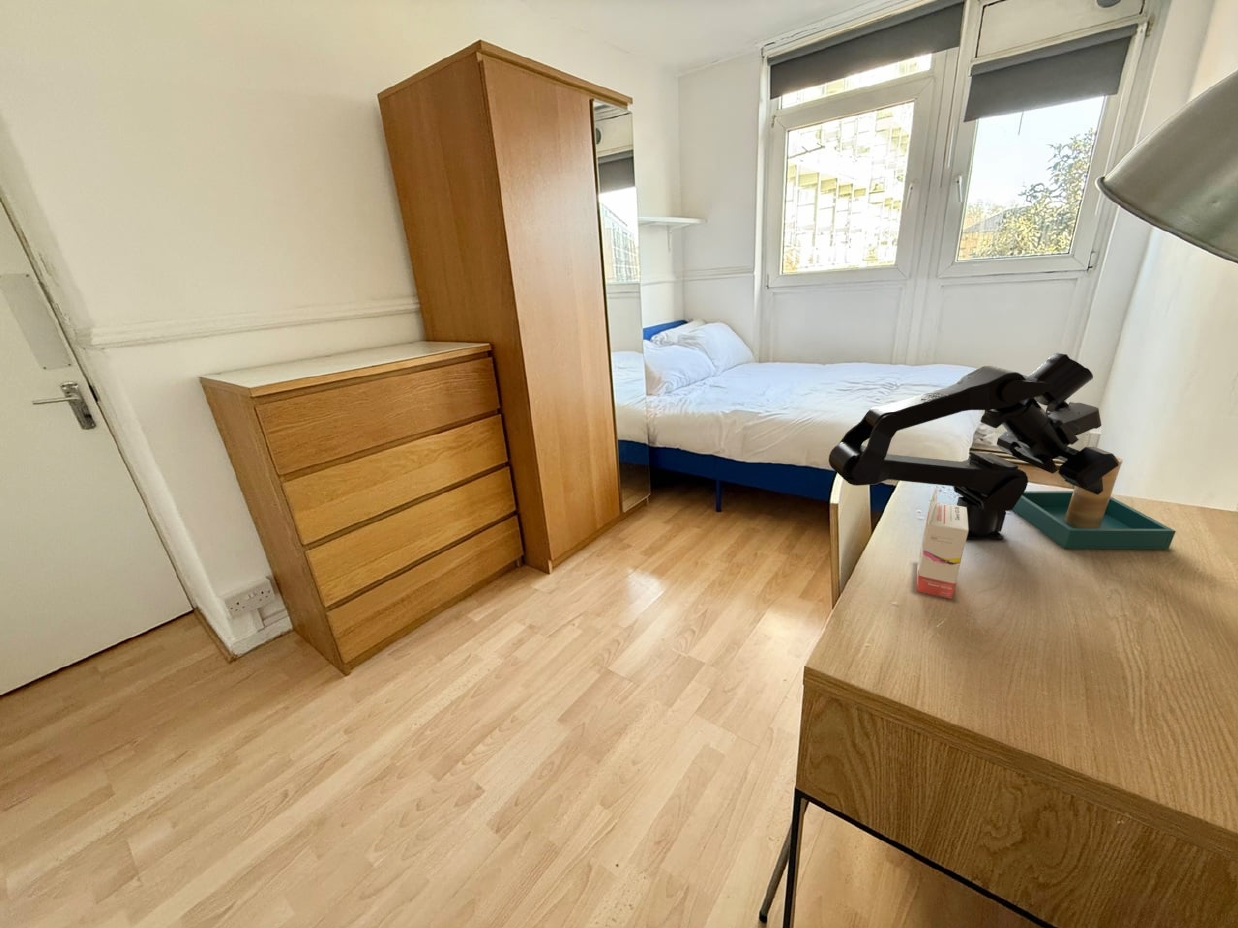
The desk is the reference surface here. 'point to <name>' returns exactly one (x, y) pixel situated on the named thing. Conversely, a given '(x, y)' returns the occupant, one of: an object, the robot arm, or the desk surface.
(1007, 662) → the desk surface
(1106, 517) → the teal serving tray
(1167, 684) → the desk surface
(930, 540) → the ink cartridge box
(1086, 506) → the wood cylinder
